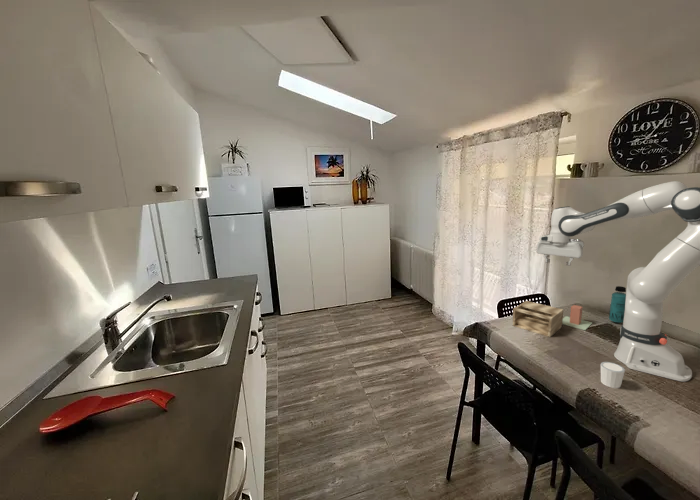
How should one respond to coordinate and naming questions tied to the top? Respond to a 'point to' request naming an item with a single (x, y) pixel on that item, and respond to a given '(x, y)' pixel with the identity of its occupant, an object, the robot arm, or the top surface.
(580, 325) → the zone pad
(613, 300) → the beverage bottle
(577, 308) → the block
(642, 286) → the robot arm
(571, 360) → the top surface
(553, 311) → the wooden crate
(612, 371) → the white cup
